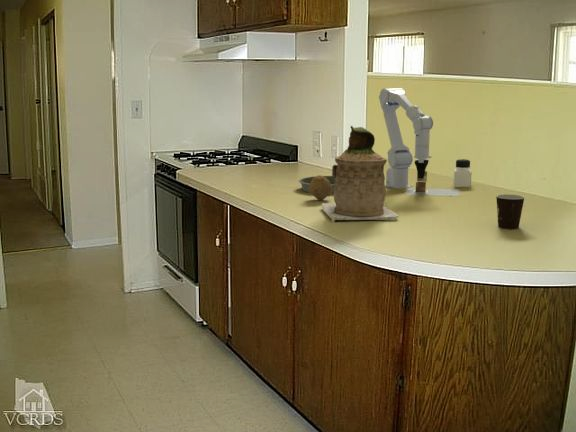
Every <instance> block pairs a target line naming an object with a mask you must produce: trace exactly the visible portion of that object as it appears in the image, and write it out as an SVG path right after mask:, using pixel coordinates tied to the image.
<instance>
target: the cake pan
mask: <svg viewBox="0 0 576 432" xmlns="http://www.w3.org/2000/svg"><path fill="white" fill-rule="evenodd" d="M316 176H317V175H316ZM316 176H314V175H313V176H308V177H302V178H299V180H298V183H300V184H301V188H302V189H301V190H303V192H306V193H310V194H311V192H310V190H309V186H310V183H311V181H312V179H313V178H314V177H316ZM323 176H324V177H326V178H327V179H328V180H329V182H330V184H331V187H332V193H331V195H334V194H333V193H334V189H335V188H334V184H335V181H334V179H333V178H332V175H323Z"/></svg>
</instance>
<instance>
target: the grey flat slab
mask: <svg viewBox="0 0 576 432" xmlns="http://www.w3.org/2000/svg"><path fill="white" fill-rule="evenodd" d="M405 195H407V196H408V195H409V196H435V197H437V196H438V197H461V193H460V189H448V188H447V189H446V188H426V192H425V193H420V192H416V187H414V188H412V187H407V188H406V191H405Z"/></svg>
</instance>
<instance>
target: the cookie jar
mask: <svg viewBox="0 0 576 432" xmlns="http://www.w3.org/2000/svg"><path fill="white" fill-rule="evenodd" d="M350 130H351V131H350V133H349V138H348V146H347V149H345V150H344V151H343V152H342V153H341V154H340V156H339V155H338V156H335V158H334V162H335V164H333V165H332V170H331V173H332V174H331V176H332V178H333V179H334V181H335V184H334V188H335V189H334V194H333V201H334V204H333V203H321V205H322V206H321V208H322V210H323V212H324V214H326V216H327V217H329V218H330V220H331V222H332V223H335V221H364V220H365V221H367V220H368V221H370V220H371V221H374V220H375V221H396V220H397V218H399V215H398V213H396V212H395V211H393V210H391V209H389V208H388V207H387V206H386V204H385V198H386V194H387V192H386V186H385V185H386V181H385V180H386V177H385V173H384V172H385V171H384V169H385V168H384V167H385V165H386V163H387V162H388V158H386V157H383V156H382V155H380V154H379V153H378V152H375V151H374V150H373V148H374V146H375V139H376V138H375V136H374V134H373V133H372V132H370V131H369V130H367V129H366V128H364V127H363V126H359V127H354V126H353V125H350Z"/></svg>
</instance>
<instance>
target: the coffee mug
mask: <svg viewBox="0 0 576 432" xmlns="http://www.w3.org/2000/svg"><path fill="white" fill-rule="evenodd" d="M495 199H496V214H497V216H496V217H497V227H498V228H501V229H503V230H504V229H505V230H517V229H519V228H520V223H521V218H522V213H523V207H524V201H525V196H523V195H520V194H519V195H518V194H510V193H509V194H508V193H507V194H497V195H496V196H495Z"/></svg>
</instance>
